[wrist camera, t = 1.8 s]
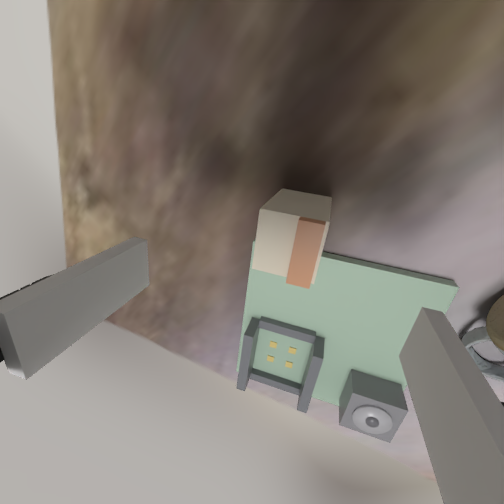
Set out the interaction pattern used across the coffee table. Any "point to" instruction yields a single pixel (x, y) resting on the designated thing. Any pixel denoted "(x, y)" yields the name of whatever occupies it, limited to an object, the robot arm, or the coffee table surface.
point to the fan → (372, 405)
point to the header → (278, 382)
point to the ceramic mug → (497, 330)
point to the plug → (292, 235)
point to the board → (342, 319)
